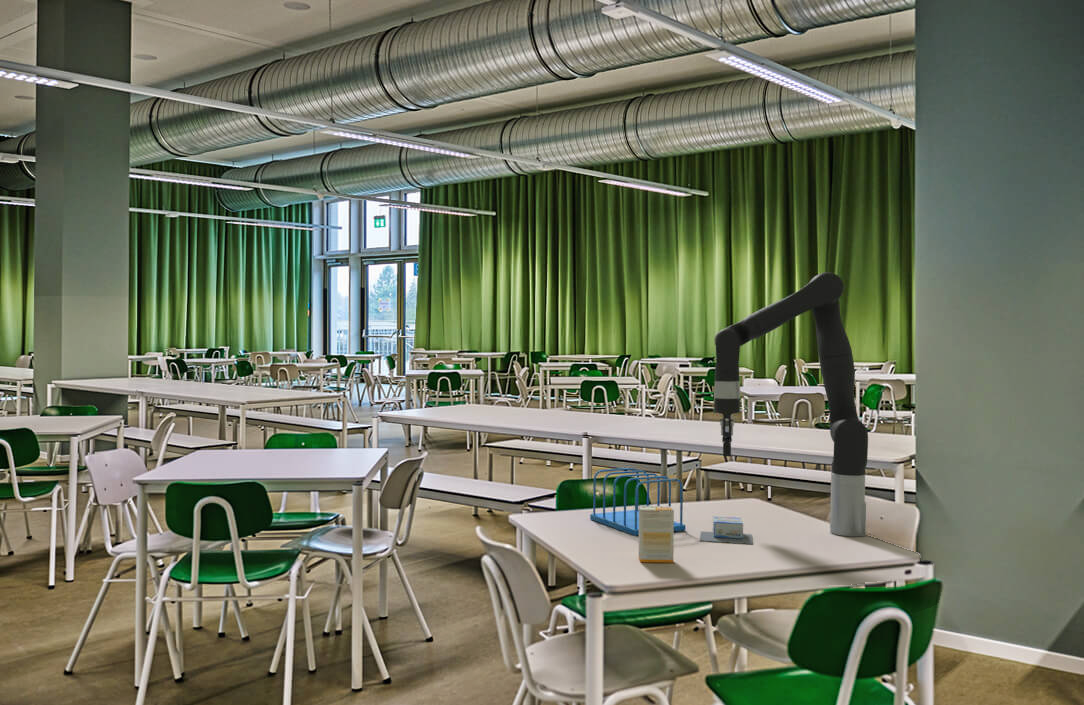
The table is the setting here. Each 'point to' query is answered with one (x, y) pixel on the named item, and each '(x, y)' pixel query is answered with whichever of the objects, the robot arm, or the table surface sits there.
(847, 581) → the table surface
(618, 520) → the file sorter
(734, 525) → the medicine box
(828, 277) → the robot arm
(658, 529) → the supplement box
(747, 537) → the felt mat
